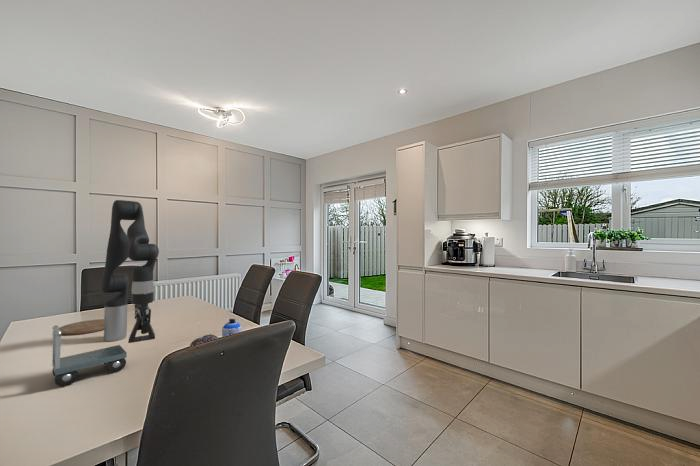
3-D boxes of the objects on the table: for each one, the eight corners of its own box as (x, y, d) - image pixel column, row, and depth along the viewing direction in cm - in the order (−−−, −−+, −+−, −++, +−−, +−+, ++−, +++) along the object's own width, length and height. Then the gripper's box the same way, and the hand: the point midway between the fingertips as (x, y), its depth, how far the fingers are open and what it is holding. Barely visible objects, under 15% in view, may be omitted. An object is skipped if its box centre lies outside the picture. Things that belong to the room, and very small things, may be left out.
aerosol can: (216, 370, 116) (217, 320, 116) (231, 362, 124) (231, 315, 124) (231, 373, 113) (232, 322, 114) (245, 365, 121) (246, 317, 121)
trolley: (51, 378, 108) (52, 325, 108) (119, 361, 123) (120, 314, 124) (54, 390, 100) (55, 333, 100) (126, 370, 115) (127, 320, 116)
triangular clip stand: (128, 343, 116) (128, 313, 116) (129, 338, 121) (129, 310, 121) (155, 338, 121) (155, 310, 121) (155, 334, 126) (155, 307, 126)
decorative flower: (172, 345, 117) (203, 324, 130) (173, 367, 121) (203, 344, 134) (199, 360, 112) (228, 337, 126) (200, 382, 117) (228, 357, 130)
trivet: (122, 327, 169) (122, 323, 169) (64, 339, 148) (64, 336, 148) (106, 319, 183) (106, 316, 183) (50, 330, 162) (50, 327, 162)
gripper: (127, 290, 123) (126, 329, 123) (136, 295, 113) (135, 338, 113) (148, 288, 129) (147, 325, 128) (158, 292, 119) (158, 333, 119)
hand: (142, 331), depth 121 cm, fingers closed on triangular clip stand, 6 cm apart
